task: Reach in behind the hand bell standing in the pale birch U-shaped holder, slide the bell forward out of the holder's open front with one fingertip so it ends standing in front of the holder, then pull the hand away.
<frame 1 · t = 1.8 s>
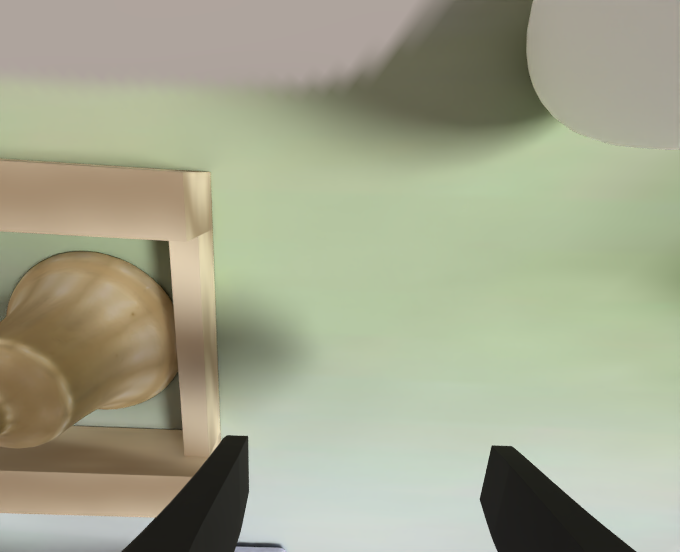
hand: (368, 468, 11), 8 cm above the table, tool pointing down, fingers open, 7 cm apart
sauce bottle: (569, 56, 15), on the table
hand bell: (103, 331, 18), on the table
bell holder: (89, 333, 18), on the table
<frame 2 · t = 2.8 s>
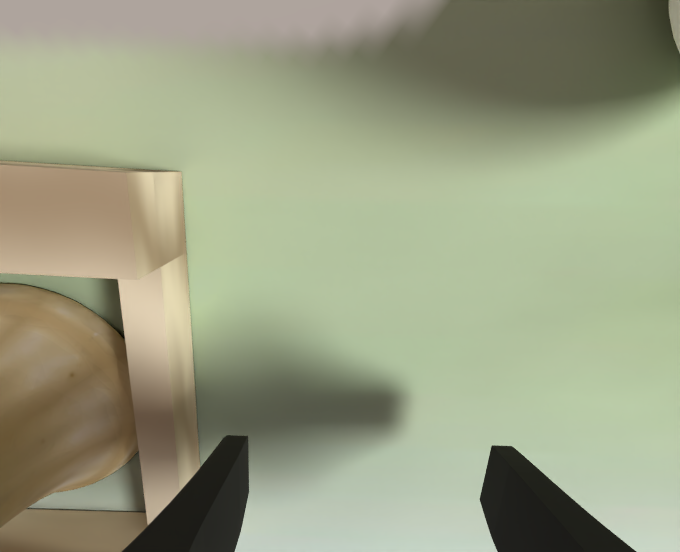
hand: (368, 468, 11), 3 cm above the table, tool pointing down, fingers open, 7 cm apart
hand bell: (41, 388, 13), on the table
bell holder: (21, 391, 13), on the table
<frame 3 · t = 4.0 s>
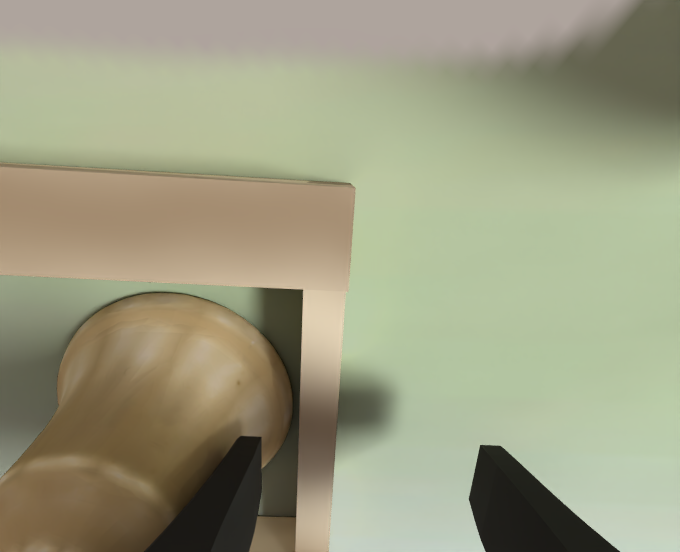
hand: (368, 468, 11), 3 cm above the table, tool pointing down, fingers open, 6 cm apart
hand bell: (182, 395, 13), on the table, touching gripper
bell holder: (166, 398, 13), on the table
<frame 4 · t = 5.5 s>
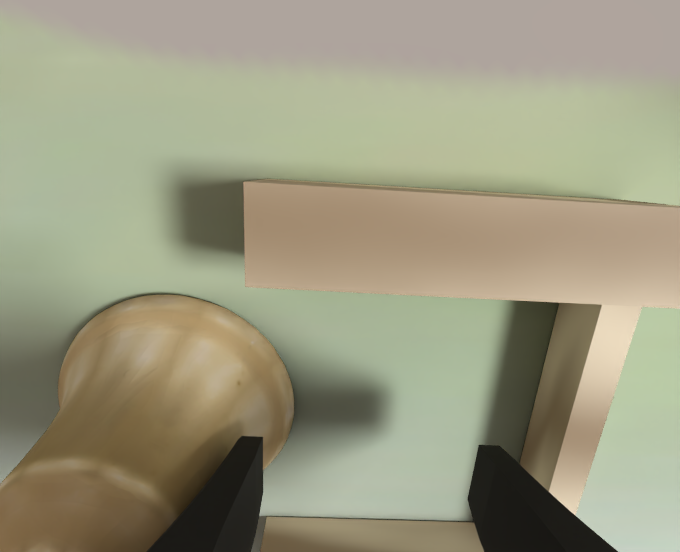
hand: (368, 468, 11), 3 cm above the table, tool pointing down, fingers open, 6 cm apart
hand bell: (183, 396, 13), on the table, touching gripper
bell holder: (401, 407, 13), on the table
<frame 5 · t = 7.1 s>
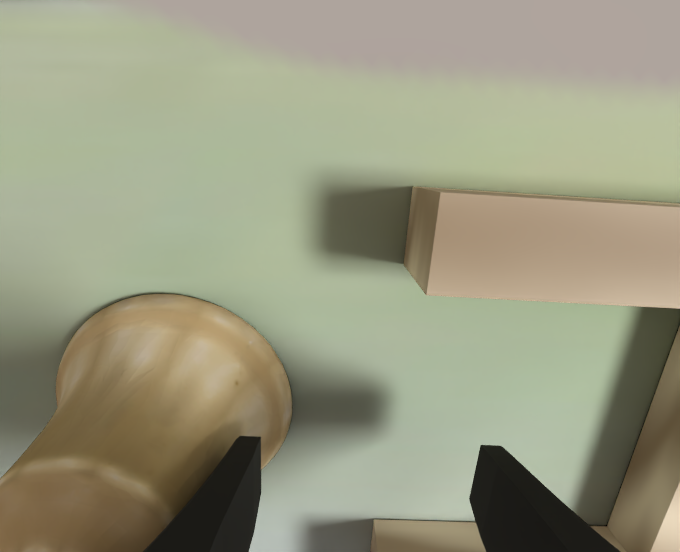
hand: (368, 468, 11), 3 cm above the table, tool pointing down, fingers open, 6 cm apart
hand bell: (181, 396, 13), on the table, touching gripper
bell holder: (518, 412, 13), on the table
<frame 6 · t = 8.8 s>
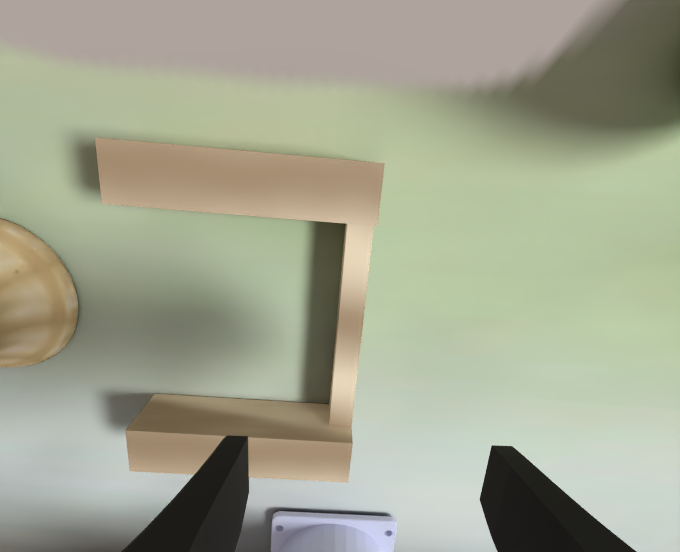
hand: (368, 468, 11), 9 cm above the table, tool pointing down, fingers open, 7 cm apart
hand bell: (1, 292, 19), on the table
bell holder: (243, 310, 19), on the table
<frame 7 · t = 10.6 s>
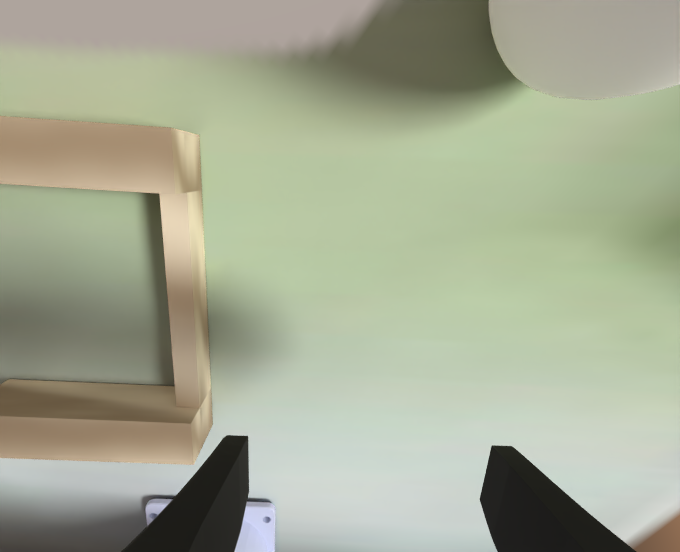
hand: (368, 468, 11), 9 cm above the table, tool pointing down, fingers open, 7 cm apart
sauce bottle: (535, 24, 16), on the table
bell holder: (86, 291, 19), on the table
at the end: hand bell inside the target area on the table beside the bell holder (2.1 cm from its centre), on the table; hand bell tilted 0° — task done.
